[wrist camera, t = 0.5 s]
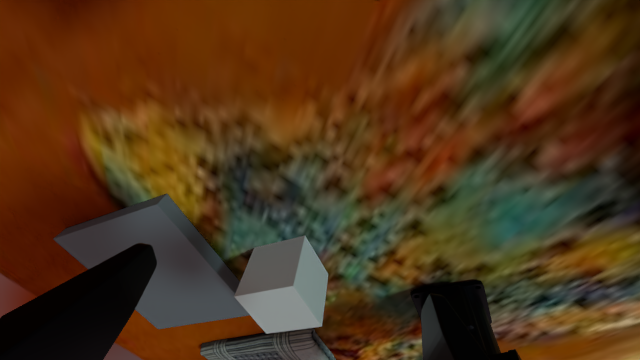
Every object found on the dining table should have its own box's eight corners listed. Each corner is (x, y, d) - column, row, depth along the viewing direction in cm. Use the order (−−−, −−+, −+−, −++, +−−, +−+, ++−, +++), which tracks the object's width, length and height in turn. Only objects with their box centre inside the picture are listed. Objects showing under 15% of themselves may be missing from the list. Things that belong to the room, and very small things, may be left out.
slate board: (256, 302, 34) (252, 314, 32) (165, 317, 38) (158, 329, 37) (166, 193, 26) (157, 204, 25) (65, 228, 31) (53, 239, 29)
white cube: (328, 273, 30) (321, 326, 25) (280, 282, 31) (266, 333, 27) (305, 235, 27) (293, 285, 23) (254, 247, 29) (234, 296, 24)
